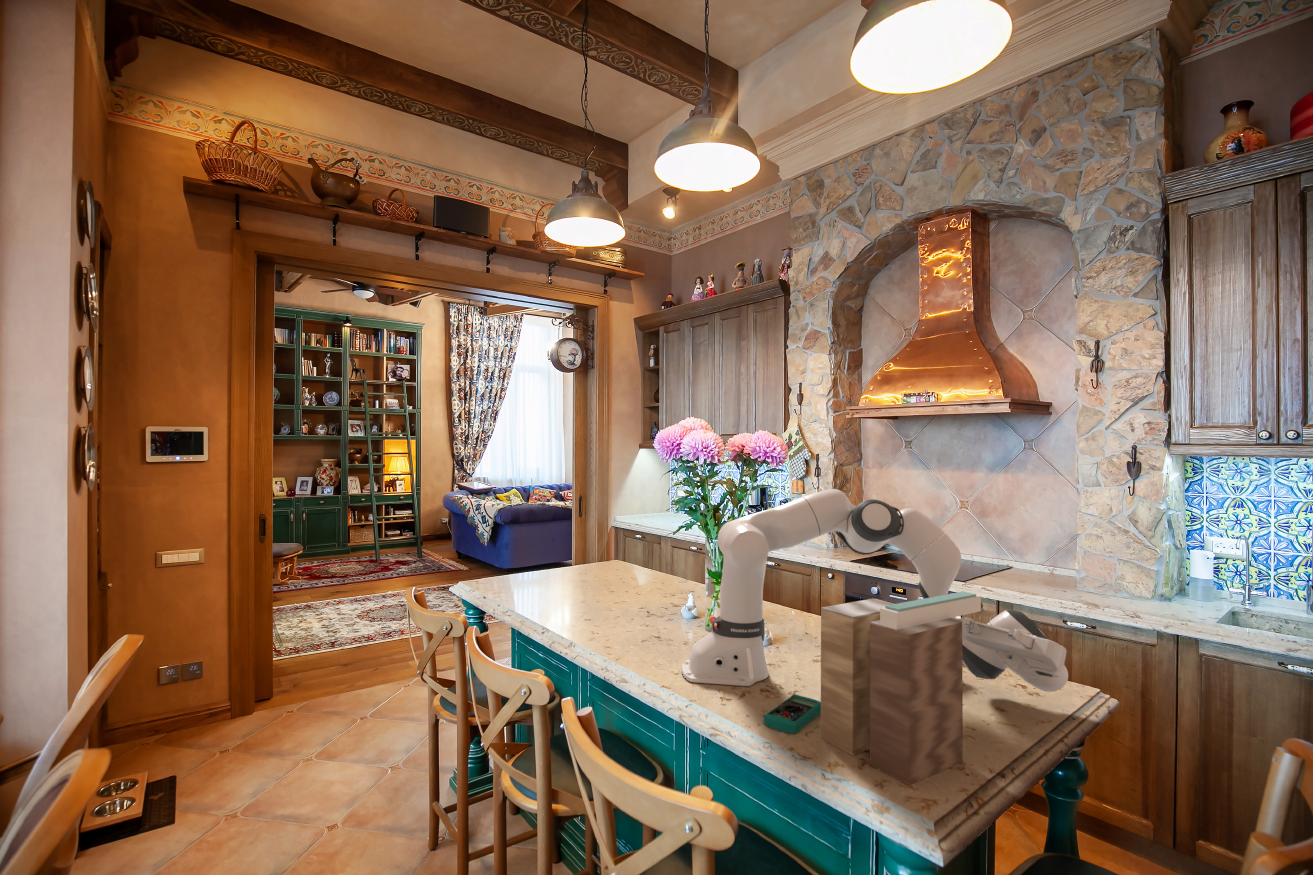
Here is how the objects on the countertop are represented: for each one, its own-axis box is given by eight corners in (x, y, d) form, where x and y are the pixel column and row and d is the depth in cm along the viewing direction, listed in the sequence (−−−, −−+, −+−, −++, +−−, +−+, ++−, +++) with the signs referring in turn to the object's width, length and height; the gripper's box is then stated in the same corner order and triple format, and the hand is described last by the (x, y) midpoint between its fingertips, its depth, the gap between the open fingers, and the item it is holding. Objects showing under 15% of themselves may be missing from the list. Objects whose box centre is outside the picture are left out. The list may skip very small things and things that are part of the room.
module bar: (964, 607, 123) (963, 590, 124) (980, 611, 120) (980, 593, 121) (880, 624, 110) (880, 606, 110) (896, 629, 107) (896, 610, 107)
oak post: (873, 720, 130) (873, 598, 130) (906, 735, 123) (906, 606, 124) (820, 737, 121) (821, 607, 122) (852, 755, 115) (852, 616, 115)
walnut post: (924, 743, 119) (923, 610, 120) (962, 761, 113) (962, 620, 113) (869, 764, 111) (870, 621, 112) (908, 785, 104) (907, 633, 105)
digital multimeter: (761, 727, 127) (761, 713, 127) (792, 704, 139) (792, 691, 139) (794, 738, 122) (794, 723, 122) (823, 713, 134) (823, 700, 134)
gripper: (977, 625, 141) (946, 601, 135) (1075, 650, 123) (1045, 624, 117) (969, 651, 139) (937, 628, 133) (1067, 680, 122) (1036, 655, 115)
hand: (988, 626), depth 125 cm, fingers open, 8 cm apart
